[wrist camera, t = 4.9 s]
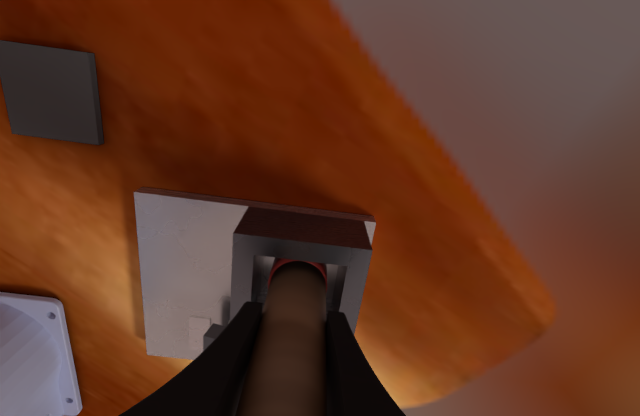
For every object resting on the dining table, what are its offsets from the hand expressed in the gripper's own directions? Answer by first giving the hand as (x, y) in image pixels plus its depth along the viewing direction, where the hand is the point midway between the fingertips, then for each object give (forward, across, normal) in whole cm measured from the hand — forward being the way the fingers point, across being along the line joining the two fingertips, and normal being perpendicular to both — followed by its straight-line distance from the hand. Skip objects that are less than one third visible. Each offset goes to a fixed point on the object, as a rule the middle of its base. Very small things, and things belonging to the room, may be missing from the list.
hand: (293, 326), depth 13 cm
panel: (+6, +2, +2) cm, 7 cm away
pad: (+6, +12, -7) cm, 15 cm away
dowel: (+3, 0, 0) cm, 3 cm away
